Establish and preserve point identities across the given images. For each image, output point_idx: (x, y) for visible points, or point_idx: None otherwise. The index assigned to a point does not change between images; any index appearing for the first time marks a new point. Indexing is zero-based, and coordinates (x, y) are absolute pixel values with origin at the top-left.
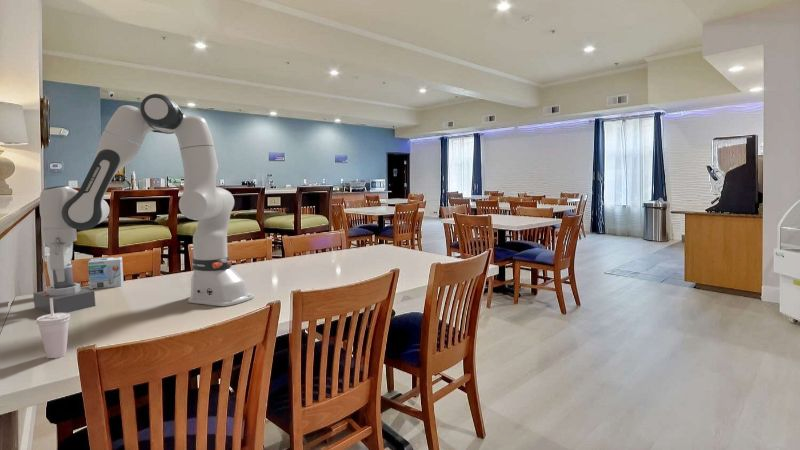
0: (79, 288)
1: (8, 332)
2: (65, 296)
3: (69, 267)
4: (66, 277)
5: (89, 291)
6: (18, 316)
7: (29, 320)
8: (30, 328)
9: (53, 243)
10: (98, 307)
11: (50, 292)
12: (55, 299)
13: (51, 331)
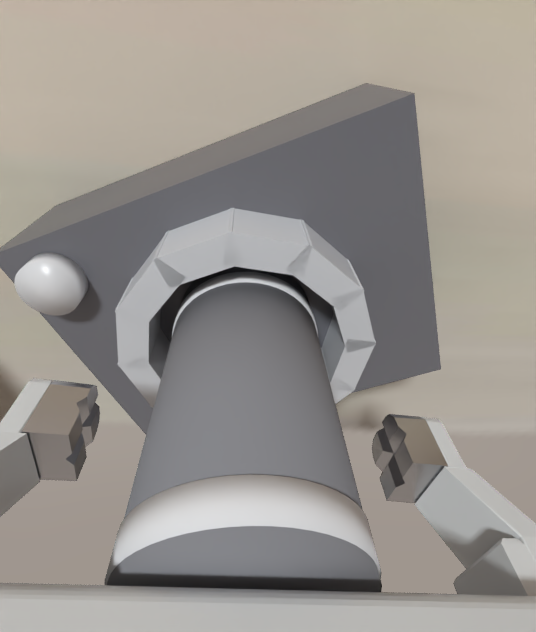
0: (308, 233)
1: (503, 430)
2: (414, 321)
3: (348, 511)
4: (336, 412)
5: (392, 144)
6: None
7: (395, 388)
8: (527, 386)
9: None
10: (438, 69)
11: None
12: (438, 367)
13: None
